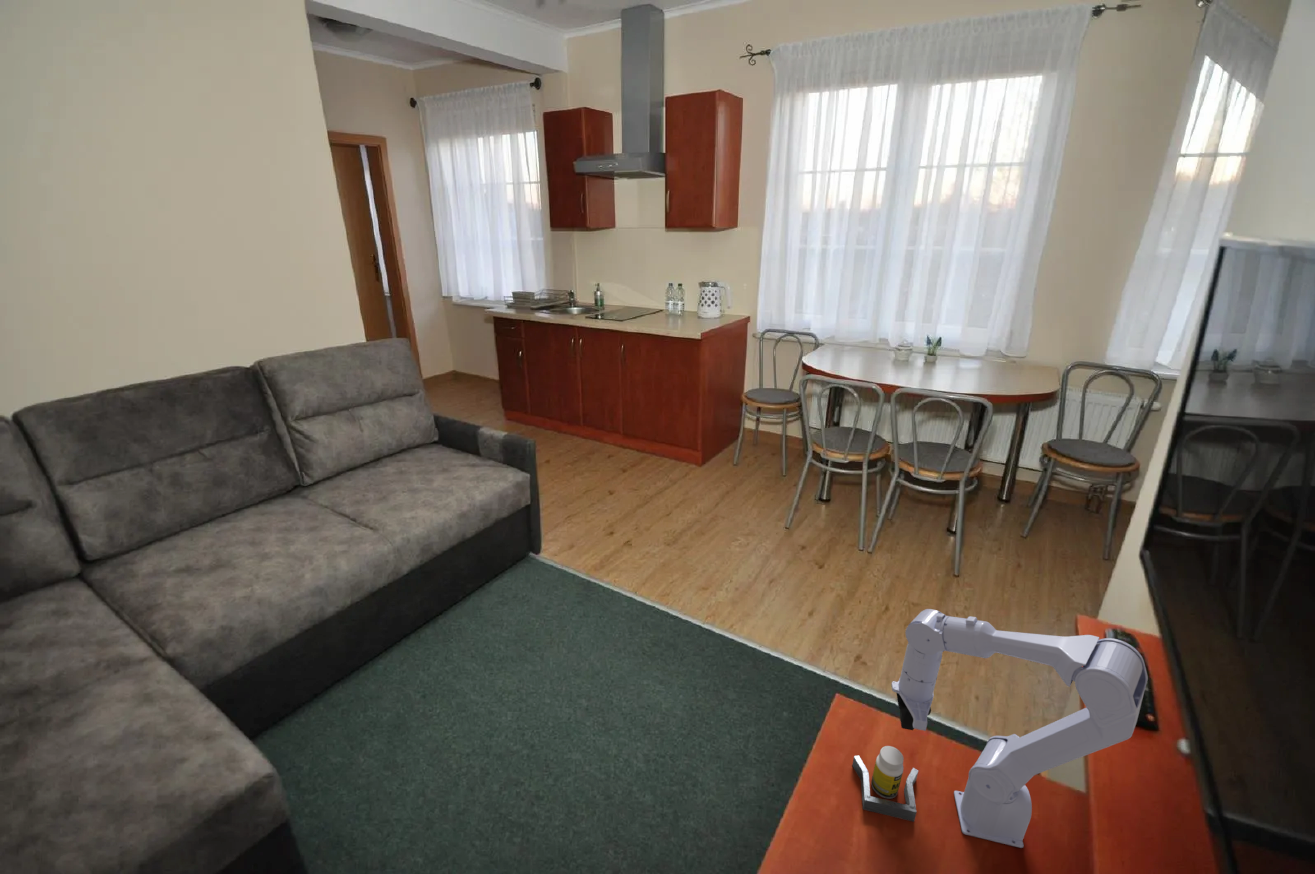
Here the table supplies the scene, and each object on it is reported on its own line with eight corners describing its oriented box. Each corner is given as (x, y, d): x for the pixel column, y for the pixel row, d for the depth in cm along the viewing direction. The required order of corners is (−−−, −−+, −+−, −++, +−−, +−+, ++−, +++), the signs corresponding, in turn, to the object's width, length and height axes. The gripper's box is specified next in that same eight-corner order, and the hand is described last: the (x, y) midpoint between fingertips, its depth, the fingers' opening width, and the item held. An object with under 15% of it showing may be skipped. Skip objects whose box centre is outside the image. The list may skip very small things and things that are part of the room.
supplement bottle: (892, 805, 105) (900, 772, 102) (867, 789, 108) (873, 756, 105) (901, 785, 108) (909, 753, 105) (876, 770, 111) (883, 739, 108)
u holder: (915, 777, 110) (918, 768, 109) (923, 824, 102) (925, 814, 101) (852, 763, 113) (853, 754, 112) (854, 807, 105) (856, 797, 104)
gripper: (891, 639, 112) (881, 692, 117) (900, 697, 99) (888, 754, 104) (931, 646, 110) (918, 699, 115) (945, 706, 97) (930, 763, 102)
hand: (906, 726), depth 109 cm, fingers closed
